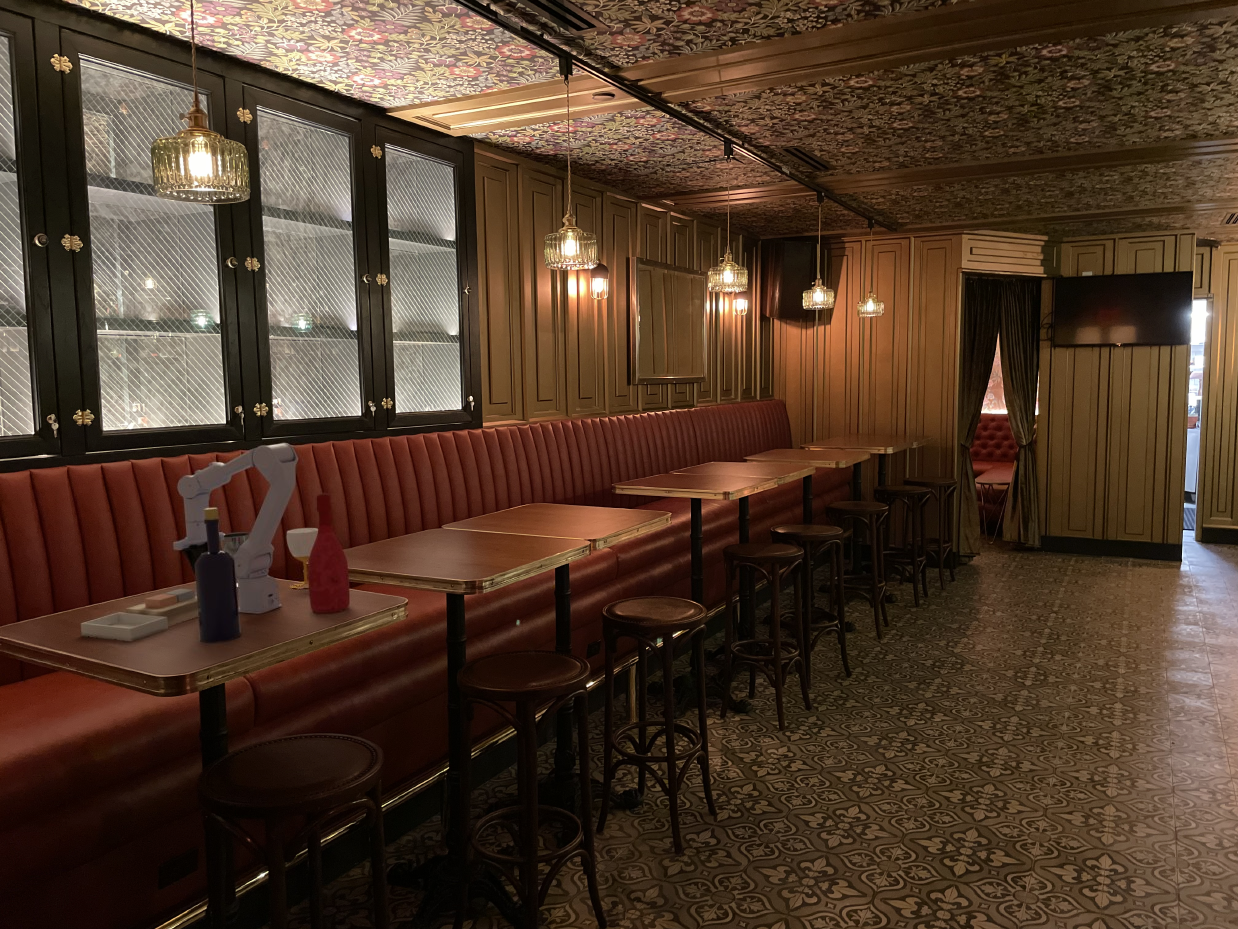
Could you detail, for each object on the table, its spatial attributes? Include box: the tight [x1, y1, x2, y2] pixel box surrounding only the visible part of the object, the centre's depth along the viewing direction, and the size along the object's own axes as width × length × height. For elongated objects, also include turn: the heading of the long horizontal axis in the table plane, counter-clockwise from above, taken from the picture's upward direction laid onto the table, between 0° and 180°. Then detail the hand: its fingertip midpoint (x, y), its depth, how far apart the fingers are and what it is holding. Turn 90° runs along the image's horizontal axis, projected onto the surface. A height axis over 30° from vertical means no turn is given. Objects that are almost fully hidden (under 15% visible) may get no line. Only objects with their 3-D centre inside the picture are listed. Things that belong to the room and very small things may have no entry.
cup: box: [286, 527, 318, 590], centre depth 249 cm, size 9×9×16 cm
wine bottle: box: [307, 492, 351, 614], centre depth 221 cm, size 10×10×30 cm
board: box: [125, 595, 199, 627], centre depth 218 cm, size 12×14×4 cm
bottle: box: [194, 507, 242, 644], centre depth 199 cm, size 9×9×30 cm
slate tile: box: [163, 588, 196, 602], centre depth 221 cm, size 5×5×2 cm
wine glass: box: [220, 531, 251, 587], centre depth 252 cm, size 8×8×15 cm
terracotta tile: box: [144, 593, 177, 608], centre depth 216 cm, size 5×5×2 cm
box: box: [80, 611, 169, 642], centre depth 206 cm, size 16×10×3 cm, turn 69°
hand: (201, 572), depth 227 cm, fingers open, 2 cm apart
